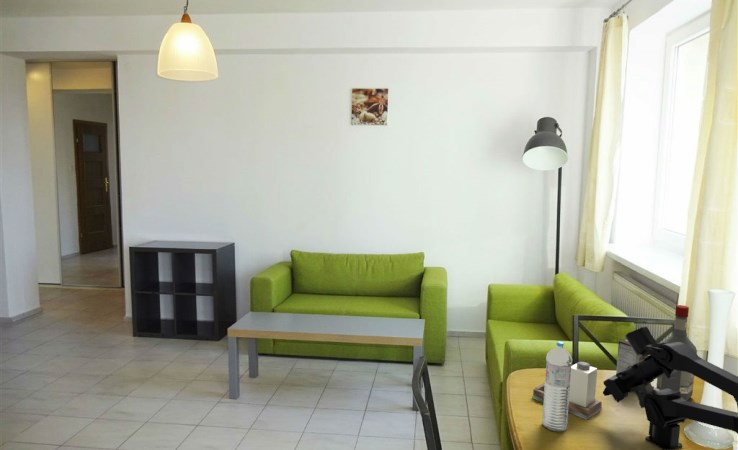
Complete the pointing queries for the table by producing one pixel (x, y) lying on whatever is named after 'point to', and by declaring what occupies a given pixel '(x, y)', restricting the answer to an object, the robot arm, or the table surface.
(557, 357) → the water bottle
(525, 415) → the table surface
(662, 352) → the robot arm
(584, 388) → the white juice carton
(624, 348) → the coffee box
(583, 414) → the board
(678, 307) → the liquor
